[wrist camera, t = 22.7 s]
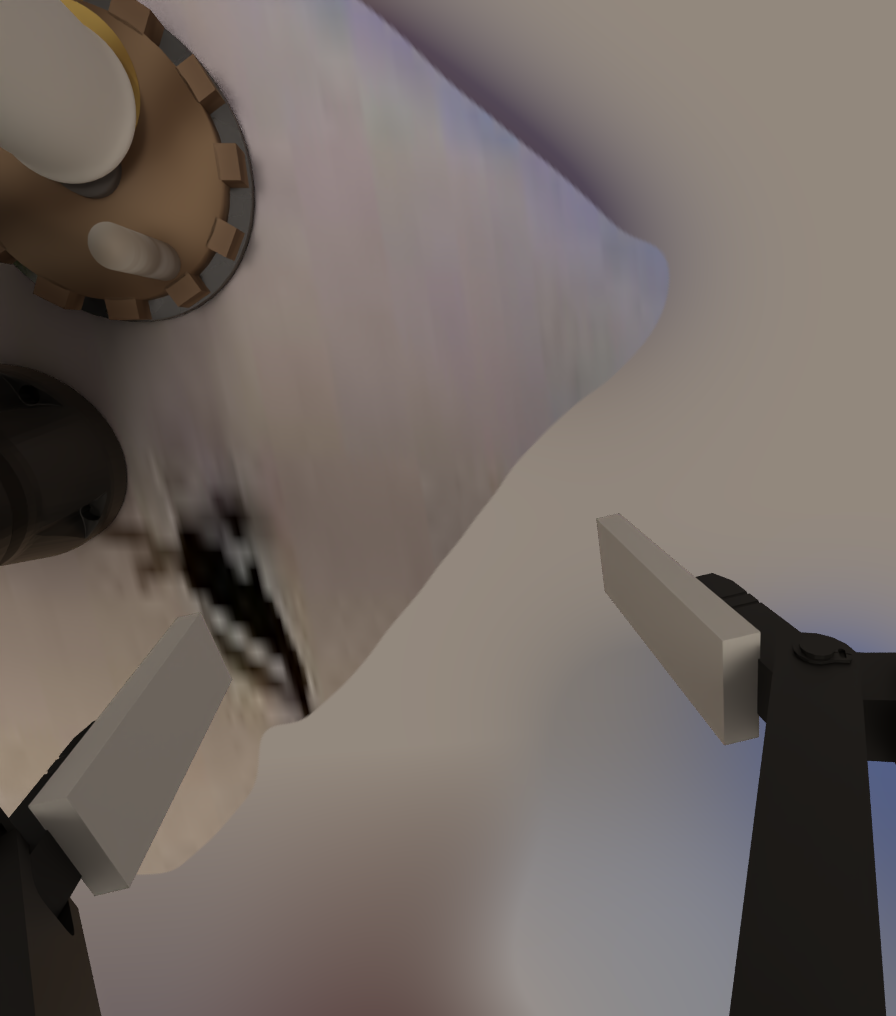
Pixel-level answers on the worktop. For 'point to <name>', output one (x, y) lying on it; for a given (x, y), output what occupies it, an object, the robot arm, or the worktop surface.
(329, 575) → the worktop surface
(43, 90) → the mug
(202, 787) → the worktop surface
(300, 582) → the worktop surface
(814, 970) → the robot arm
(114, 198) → the sprocket
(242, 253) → the base plate
